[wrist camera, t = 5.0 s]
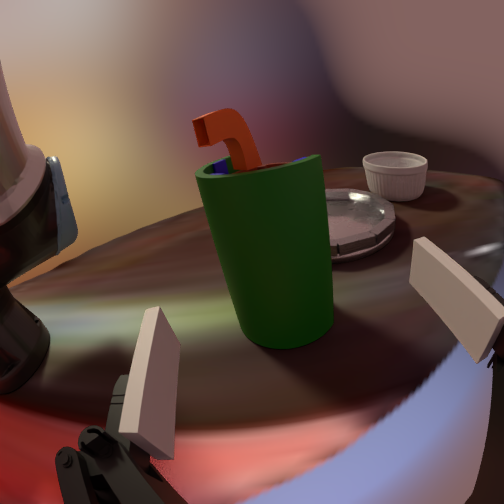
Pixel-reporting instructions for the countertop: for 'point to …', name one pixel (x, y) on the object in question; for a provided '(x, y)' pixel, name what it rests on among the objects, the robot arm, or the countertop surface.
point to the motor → (268, 235)
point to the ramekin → (396, 175)
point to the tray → (358, 223)
